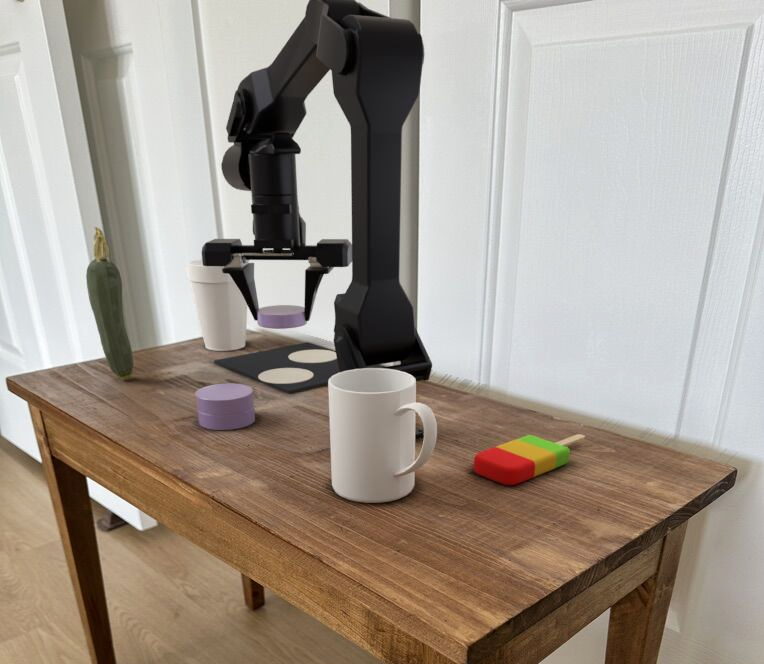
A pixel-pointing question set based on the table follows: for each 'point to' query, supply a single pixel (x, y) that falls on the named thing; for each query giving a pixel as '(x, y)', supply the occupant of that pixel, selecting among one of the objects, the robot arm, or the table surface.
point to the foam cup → (218, 306)
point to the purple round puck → (281, 316)
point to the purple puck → (224, 399)
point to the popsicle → (523, 459)
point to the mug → (376, 434)
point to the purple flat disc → (226, 420)
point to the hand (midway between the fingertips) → (282, 320)
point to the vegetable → (109, 308)
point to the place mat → (288, 366)
